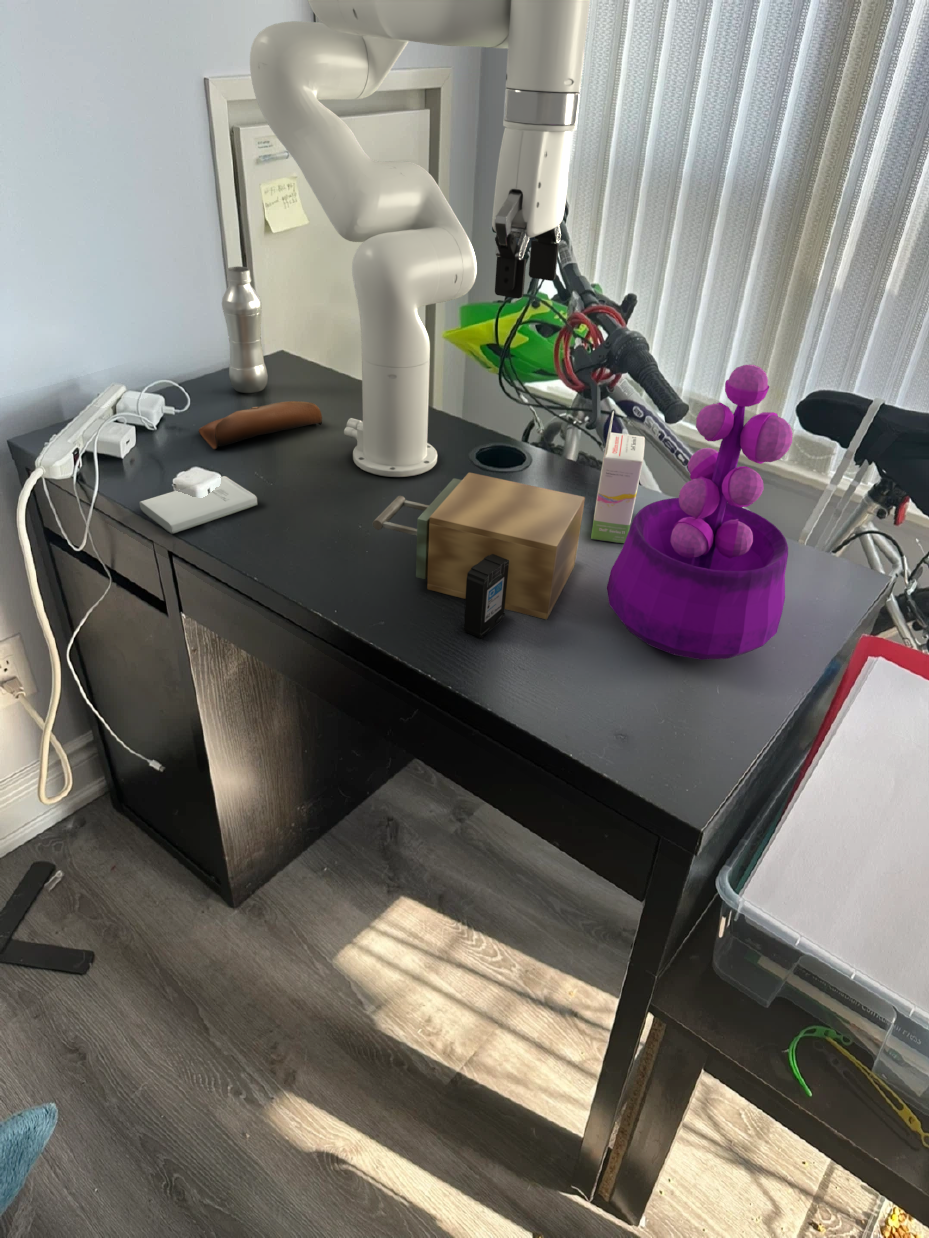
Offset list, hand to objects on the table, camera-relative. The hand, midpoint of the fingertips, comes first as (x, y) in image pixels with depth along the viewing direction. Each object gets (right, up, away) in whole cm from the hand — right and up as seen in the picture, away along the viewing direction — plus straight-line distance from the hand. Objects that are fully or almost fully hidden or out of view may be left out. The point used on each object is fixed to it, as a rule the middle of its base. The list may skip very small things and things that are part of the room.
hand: (525, 287), depth 95 cm
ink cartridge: (-5, -39, -2) cm, 39 cm away
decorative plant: (+18, -39, -1) cm, 43 cm away
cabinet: (-2, -33, +6) cm, 33 cm away
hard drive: (-42, -23, +16) cm, 50 cm away
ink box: (+13, -26, +18) cm, 34 cm away
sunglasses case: (-39, -8, +37) cm, 55 cm away
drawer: (-8, -31, +7) cm, 32 cm away
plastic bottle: (-44, +2, +51) cm, 67 cm away
